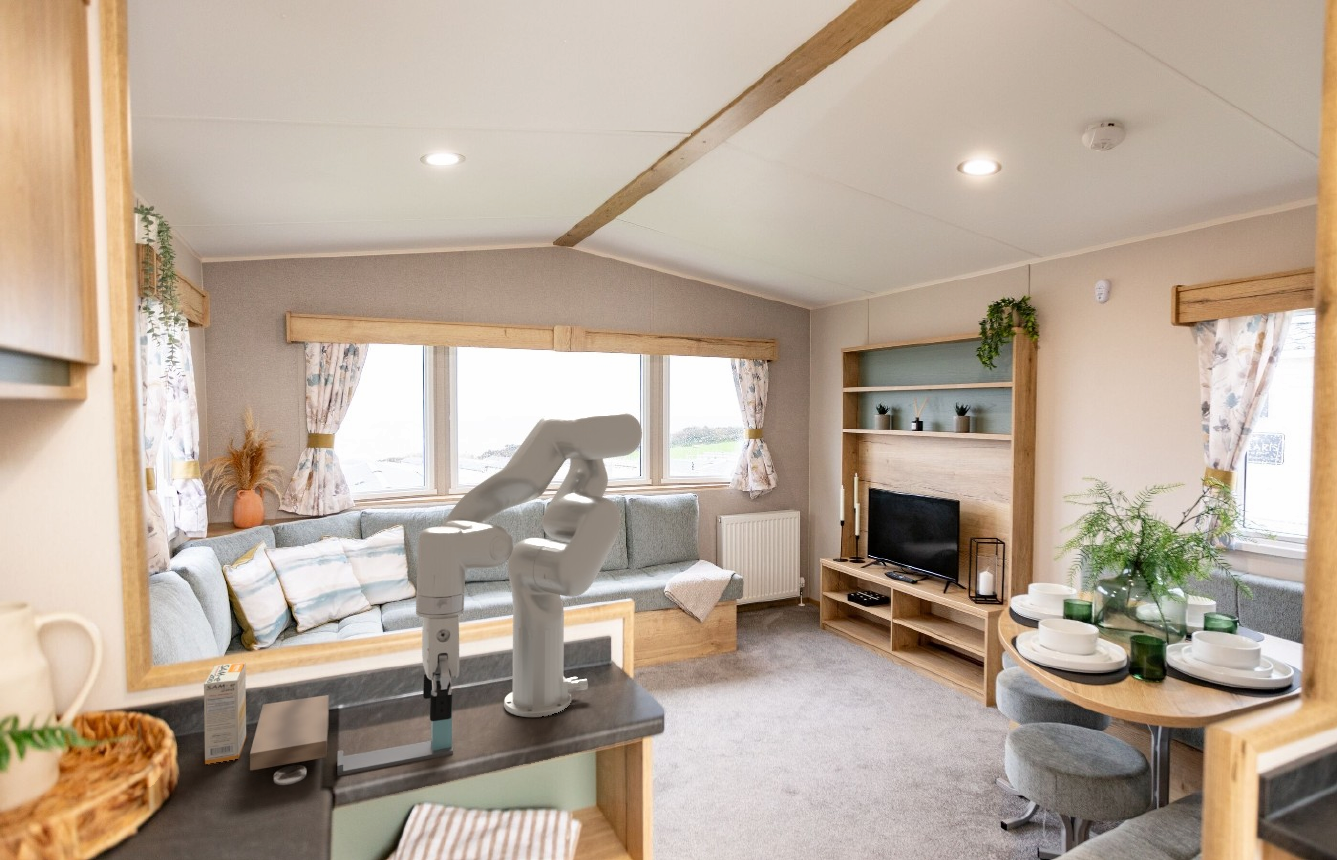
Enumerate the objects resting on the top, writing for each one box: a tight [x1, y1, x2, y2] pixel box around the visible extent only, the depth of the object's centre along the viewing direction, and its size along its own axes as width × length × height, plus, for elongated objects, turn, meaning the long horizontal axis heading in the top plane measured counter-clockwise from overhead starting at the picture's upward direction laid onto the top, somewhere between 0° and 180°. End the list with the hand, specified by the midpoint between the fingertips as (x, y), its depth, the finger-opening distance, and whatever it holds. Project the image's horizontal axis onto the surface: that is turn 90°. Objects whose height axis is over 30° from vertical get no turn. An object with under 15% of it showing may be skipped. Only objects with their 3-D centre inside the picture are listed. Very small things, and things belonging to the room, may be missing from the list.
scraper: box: [336, 690, 454, 777], centre depth 113 cm, size 17×5×10 cm, turn 115°
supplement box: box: [203, 662, 247, 765], centre depth 114 cm, size 8×5×13 cm, turn 23°
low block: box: [249, 694, 330, 771], centre depth 113 cm, size 10×18×6 cm, turn 25°
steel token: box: [273, 764, 307, 786], centre depth 107 cm, size 4×4×1 cm
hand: (436, 708), depth 115 cm, fingers open, 9 cm apart
